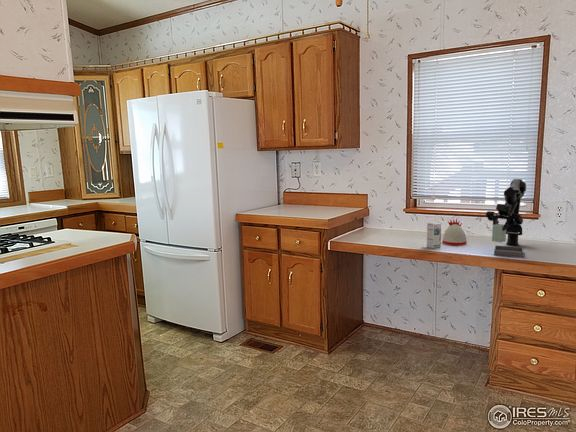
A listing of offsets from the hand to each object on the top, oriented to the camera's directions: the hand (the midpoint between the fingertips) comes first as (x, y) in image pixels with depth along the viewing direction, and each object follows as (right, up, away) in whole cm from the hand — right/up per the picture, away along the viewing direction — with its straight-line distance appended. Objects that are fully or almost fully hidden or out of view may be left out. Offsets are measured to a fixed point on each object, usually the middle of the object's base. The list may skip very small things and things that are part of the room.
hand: (498, 229), depth 244 cm
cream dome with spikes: (-12, -9, +31) cm, 35 cm away
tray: (+7, -13, +2) cm, 15 cm away
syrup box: (-28, -11, +21) cm, 37 cm away
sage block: (+1, -6, +2) cm, 7 cm away
